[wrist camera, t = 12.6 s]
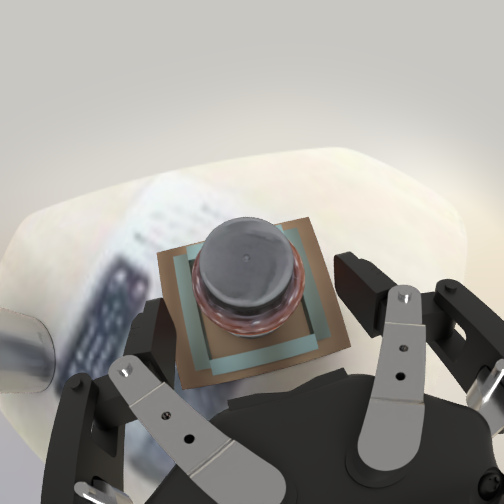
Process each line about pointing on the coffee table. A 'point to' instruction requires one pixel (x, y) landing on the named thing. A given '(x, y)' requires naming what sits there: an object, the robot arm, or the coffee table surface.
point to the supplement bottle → (248, 277)
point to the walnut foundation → (258, 349)
